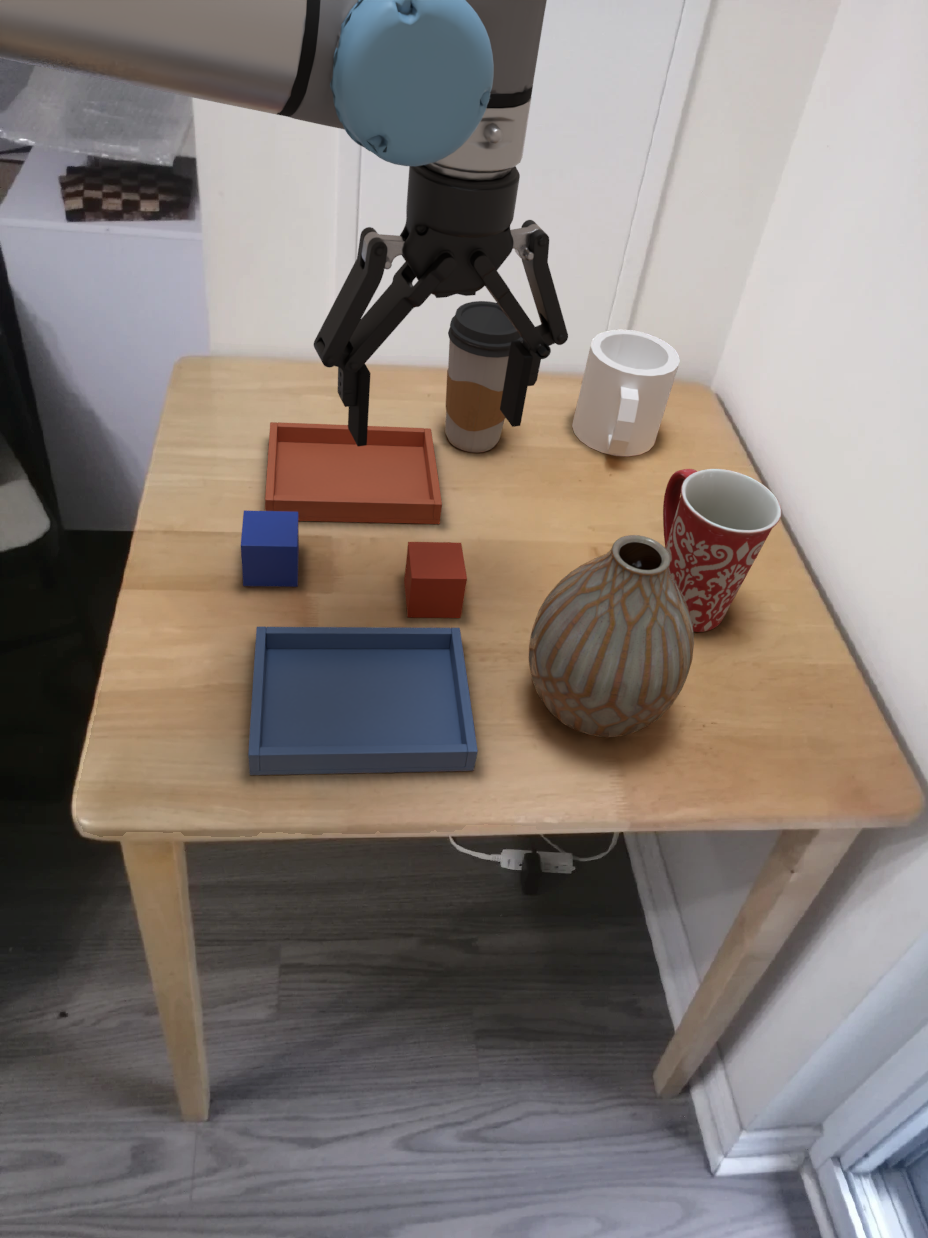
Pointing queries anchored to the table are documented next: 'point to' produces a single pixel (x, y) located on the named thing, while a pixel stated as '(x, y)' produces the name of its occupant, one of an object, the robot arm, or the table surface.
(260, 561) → the blue block
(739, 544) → the mug
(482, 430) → the coffee cup
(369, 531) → the table surface
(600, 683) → the vase
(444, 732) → the blue tray
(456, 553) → the rust block
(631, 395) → the mug
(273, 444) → the terracotta tray
